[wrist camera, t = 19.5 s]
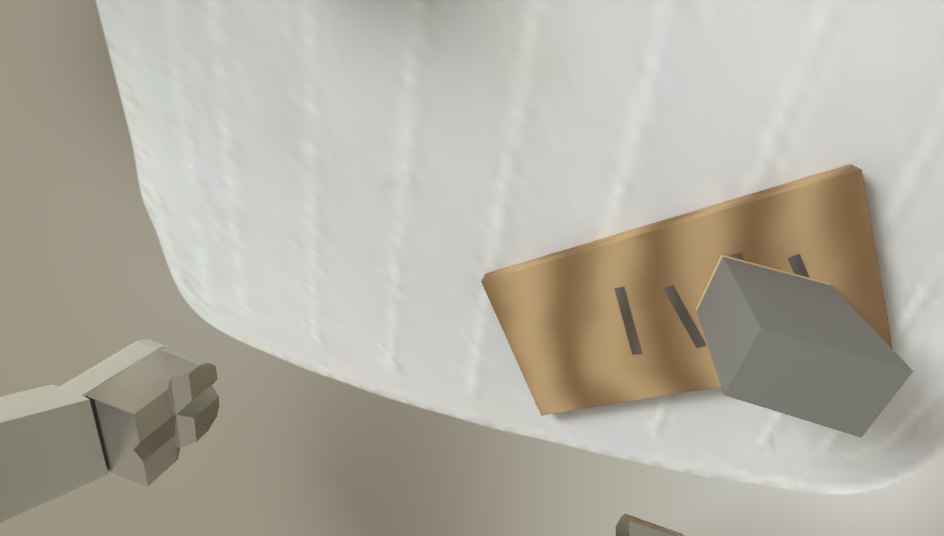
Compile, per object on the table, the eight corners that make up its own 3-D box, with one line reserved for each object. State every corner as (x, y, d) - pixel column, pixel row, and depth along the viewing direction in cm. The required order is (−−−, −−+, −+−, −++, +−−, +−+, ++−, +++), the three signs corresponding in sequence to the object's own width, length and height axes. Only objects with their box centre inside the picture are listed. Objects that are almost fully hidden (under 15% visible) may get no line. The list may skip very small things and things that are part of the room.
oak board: (850, 164, 30) (862, 169, 28) (883, 346, 34) (894, 359, 32) (485, 274, 40) (481, 281, 38) (543, 404, 44) (541, 416, 42)
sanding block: (695, 308, 35) (724, 394, 26) (721, 254, 33) (761, 328, 24) (796, 337, 33) (861, 437, 25) (828, 282, 31) (912, 371, 23)
